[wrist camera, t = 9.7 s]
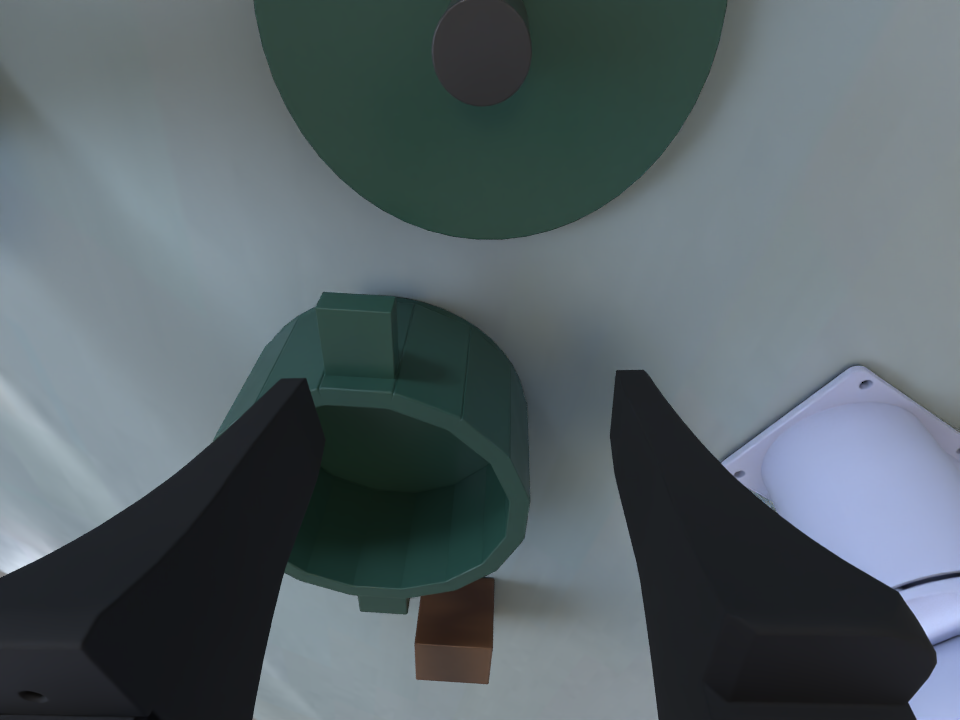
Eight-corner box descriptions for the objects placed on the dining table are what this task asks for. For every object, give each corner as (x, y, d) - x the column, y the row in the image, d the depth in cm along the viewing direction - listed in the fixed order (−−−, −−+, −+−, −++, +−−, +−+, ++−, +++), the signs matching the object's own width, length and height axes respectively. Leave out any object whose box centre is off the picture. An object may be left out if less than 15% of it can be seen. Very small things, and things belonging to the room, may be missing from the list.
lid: (792, -293, 14) (908, -374, 10) (658, 237, 22) (691, 312, 18) (216, -326, 14) (95, -421, 10) (298, 215, 22) (251, 284, 18)
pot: (546, 245, 23) (555, 335, 18) (509, 532, 34) (509, 635, 29) (218, 224, 23) (140, 309, 18) (289, 518, 34) (252, 619, 29)
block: (494, 578, 36) (492, 649, 33) (490, 615, 39) (488, 684, 36) (423, 573, 36) (414, 644, 33) (424, 611, 39) (415, 680, 36)
